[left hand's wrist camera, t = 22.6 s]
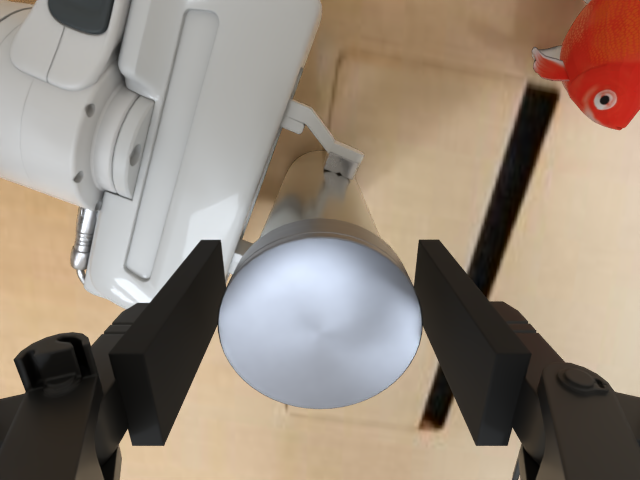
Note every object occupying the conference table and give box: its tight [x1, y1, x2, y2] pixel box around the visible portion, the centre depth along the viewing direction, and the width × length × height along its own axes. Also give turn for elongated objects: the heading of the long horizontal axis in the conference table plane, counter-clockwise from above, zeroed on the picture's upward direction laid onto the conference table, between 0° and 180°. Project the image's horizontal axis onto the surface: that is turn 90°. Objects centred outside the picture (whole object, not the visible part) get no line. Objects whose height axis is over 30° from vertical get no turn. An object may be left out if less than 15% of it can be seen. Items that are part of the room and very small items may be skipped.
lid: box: [218, 218, 423, 409], centre depth 11 cm, size 6×6×2 cm
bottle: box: [259, 150, 380, 239], centre depth 19 cm, size 5×5×17 cm
